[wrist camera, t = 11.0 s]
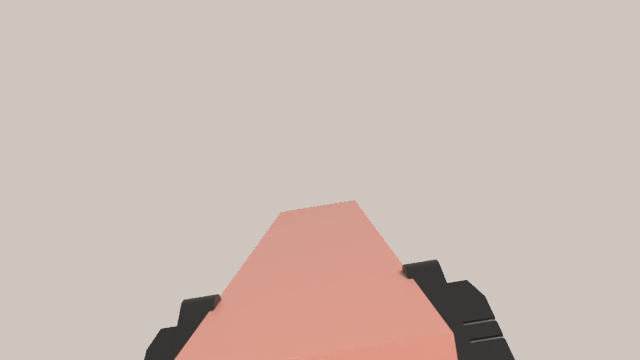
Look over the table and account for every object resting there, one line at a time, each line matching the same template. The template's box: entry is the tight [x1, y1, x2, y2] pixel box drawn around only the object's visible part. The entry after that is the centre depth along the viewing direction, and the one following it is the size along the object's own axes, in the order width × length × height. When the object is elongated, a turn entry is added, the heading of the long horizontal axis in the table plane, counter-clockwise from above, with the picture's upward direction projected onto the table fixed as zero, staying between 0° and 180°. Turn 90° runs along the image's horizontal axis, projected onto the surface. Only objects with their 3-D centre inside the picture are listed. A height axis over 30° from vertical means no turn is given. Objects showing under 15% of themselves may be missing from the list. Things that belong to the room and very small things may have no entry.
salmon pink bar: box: [175, 200, 458, 360], centre depth 18 cm, size 4×22×4 cm, turn 0°
